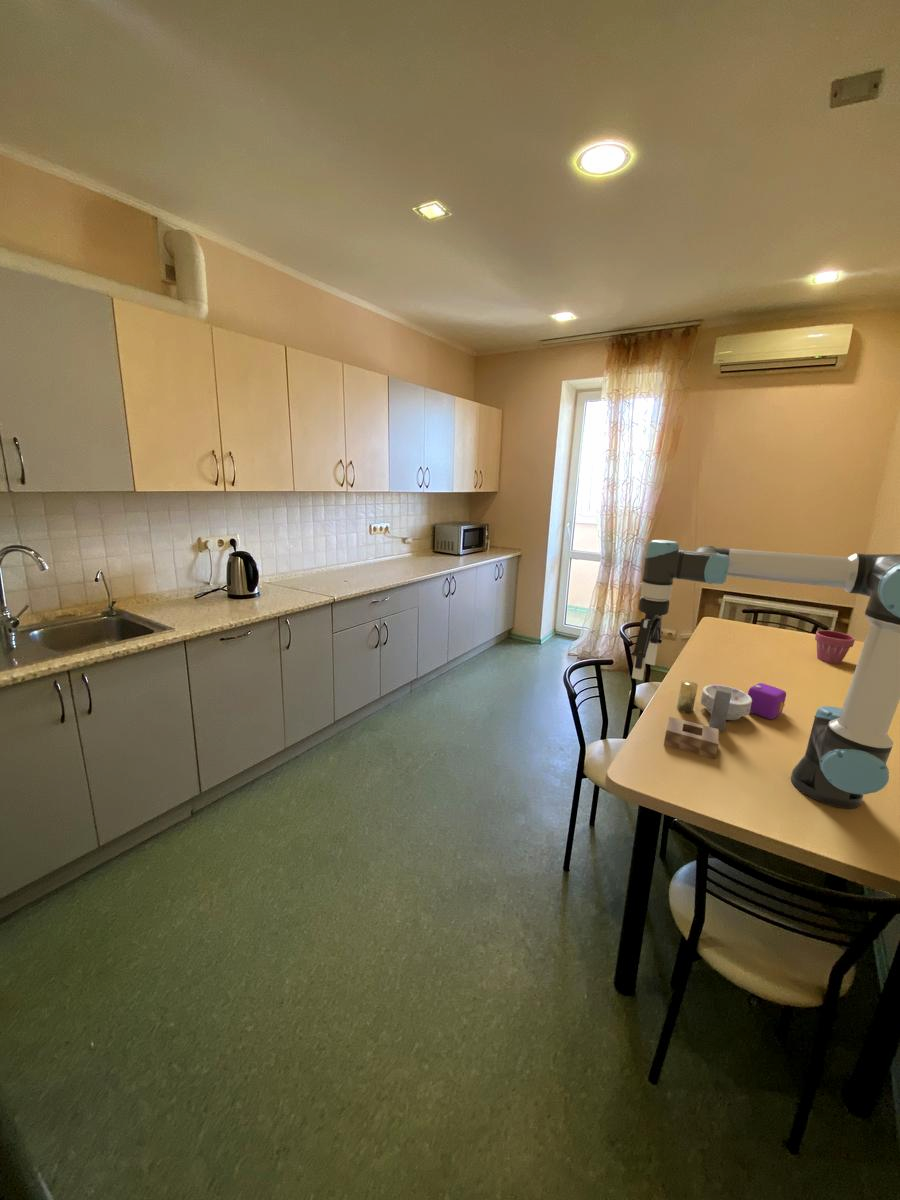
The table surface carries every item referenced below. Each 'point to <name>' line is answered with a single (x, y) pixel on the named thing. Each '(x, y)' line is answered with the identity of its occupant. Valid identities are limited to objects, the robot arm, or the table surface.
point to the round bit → (687, 696)
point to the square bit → (720, 708)
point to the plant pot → (833, 645)
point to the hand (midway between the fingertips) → (643, 671)
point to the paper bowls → (737, 705)
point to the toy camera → (766, 700)
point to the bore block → (692, 737)
